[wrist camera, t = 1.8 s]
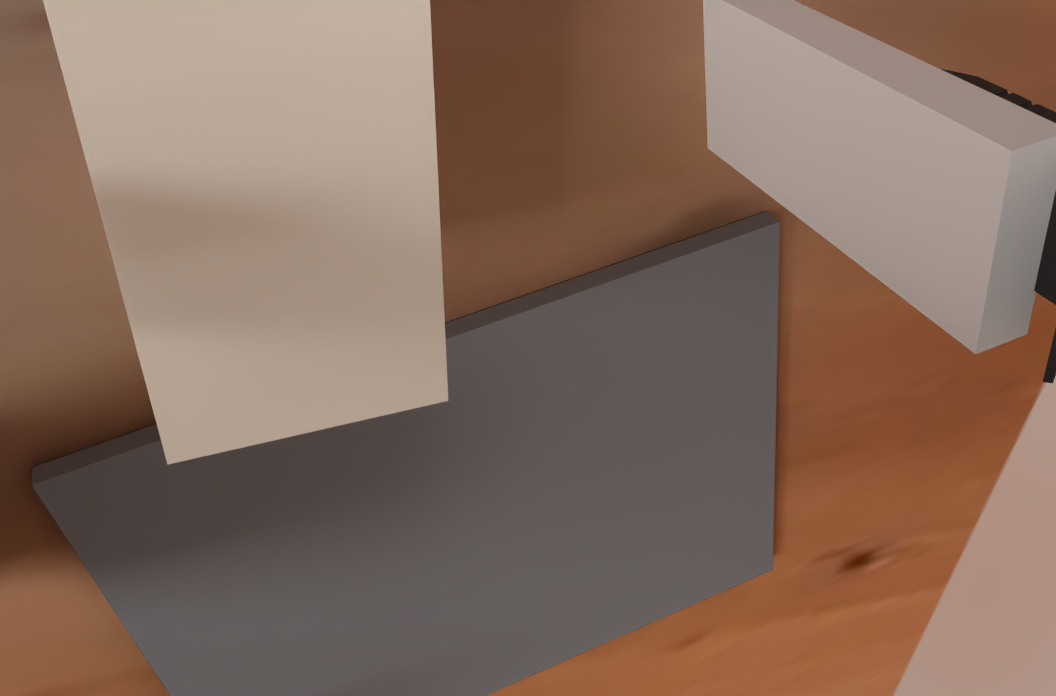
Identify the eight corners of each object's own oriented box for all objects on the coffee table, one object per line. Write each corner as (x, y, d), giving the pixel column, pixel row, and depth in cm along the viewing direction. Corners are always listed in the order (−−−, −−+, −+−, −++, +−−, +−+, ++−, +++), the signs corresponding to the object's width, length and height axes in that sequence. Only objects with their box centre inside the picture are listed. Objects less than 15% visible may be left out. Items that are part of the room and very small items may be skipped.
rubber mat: (238, 784, 39) (241, 802, 38) (32, 467, 28) (31, 485, 27) (762, 557, 44) (772, 569, 43) (766, 211, 33) (779, 221, 32)
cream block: (142, 276, 26) (167, 464, 20) (-22, -379, 18) (-65, -400, 12) (363, 239, 28) (448, 400, 22) (304, -371, 20) (412, -386, 14)
